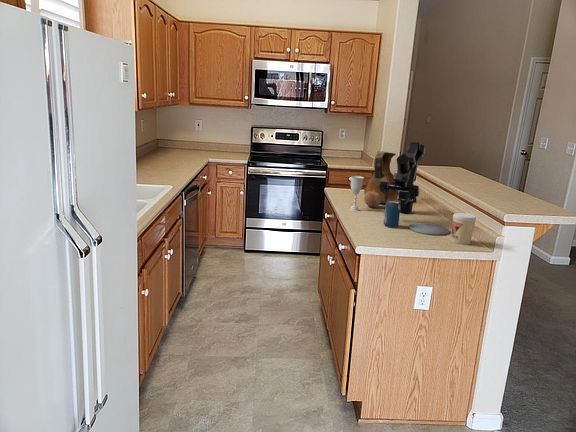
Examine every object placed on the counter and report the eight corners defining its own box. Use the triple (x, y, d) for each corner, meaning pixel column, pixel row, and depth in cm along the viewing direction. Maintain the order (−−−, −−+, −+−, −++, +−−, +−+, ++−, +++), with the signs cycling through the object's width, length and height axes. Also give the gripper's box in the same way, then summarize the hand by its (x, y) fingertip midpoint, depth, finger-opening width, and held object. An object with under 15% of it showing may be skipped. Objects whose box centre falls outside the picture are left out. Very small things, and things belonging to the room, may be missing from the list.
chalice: (362, 209, 252) (365, 176, 247) (359, 212, 245) (362, 178, 241) (348, 207, 254) (351, 175, 250) (346, 210, 248) (349, 177, 243)
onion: (362, 205, 263) (363, 187, 261) (378, 206, 263) (380, 188, 260) (364, 208, 254) (366, 191, 251) (381, 209, 254) (383, 191, 251)
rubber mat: (427, 223, 229) (428, 221, 229) (457, 233, 214) (457, 231, 214) (400, 226, 220) (401, 224, 220) (429, 237, 205) (429, 235, 205)
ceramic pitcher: (401, 201, 278) (407, 151, 270) (390, 207, 261) (395, 154, 254) (371, 196, 287) (376, 148, 280) (358, 201, 271) (362, 150, 264)
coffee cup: (445, 238, 205) (449, 212, 202) (466, 239, 205) (470, 212, 203) (455, 245, 196) (459, 217, 193) (476, 245, 196) (480, 218, 194)
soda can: (401, 226, 220) (403, 202, 217) (392, 229, 216) (395, 204, 213) (388, 223, 225) (391, 199, 222) (380, 225, 220) (383, 201, 217)
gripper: (382, 164, 225) (373, 190, 218) (421, 169, 218) (413, 195, 211) (384, 178, 234) (376, 203, 227) (422, 183, 227) (415, 209, 219)
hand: (395, 202), depth 221 cm, fingers open, 9 cm apart
